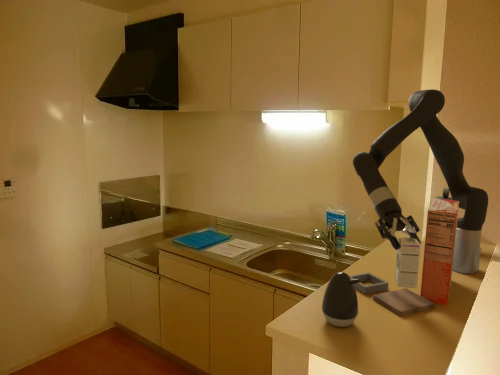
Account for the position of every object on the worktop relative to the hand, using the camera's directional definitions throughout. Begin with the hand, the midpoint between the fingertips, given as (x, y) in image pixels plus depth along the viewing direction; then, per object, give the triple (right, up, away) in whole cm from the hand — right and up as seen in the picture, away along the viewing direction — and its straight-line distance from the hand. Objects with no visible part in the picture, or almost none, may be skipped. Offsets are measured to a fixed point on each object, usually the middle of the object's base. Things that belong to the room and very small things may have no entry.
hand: (408, 247), depth 118 cm
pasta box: (+16, -17, +14) cm, 27 cm away
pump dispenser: (-23, -21, -8) cm, 32 cm away
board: (0, -19, +3) cm, 19 cm away
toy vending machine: (+39, -9, +61) cm, 73 cm away
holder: (-8, -16, +16) cm, 24 cm away
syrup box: (0, -12, +2) cm, 12 cm away
